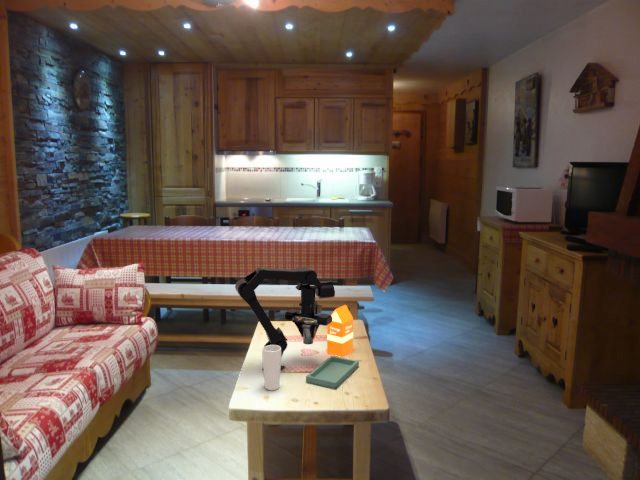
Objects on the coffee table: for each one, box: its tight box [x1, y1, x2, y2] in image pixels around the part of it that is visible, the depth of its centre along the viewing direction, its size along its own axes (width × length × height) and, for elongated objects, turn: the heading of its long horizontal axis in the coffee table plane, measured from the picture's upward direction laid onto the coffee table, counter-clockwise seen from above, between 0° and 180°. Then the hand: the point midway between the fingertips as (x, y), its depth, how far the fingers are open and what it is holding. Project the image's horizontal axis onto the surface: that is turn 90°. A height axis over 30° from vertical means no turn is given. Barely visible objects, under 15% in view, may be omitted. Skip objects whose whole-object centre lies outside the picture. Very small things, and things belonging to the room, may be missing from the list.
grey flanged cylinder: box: [302, 320, 314, 345], centre depth 203 cm, size 5×5×8 cm
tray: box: [305, 355, 360, 390], centre depth 196 cm, size 22×12×2 cm, turn 154°
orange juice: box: [326, 304, 354, 358], centre depth 217 cm, size 8×9×20 cm
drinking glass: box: [261, 345, 282, 391], centre depth 184 cm, size 7×7×15 cm
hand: (308, 337), depth 203 cm, fingers closed on grey flanged cylinder, 4 cm apart
